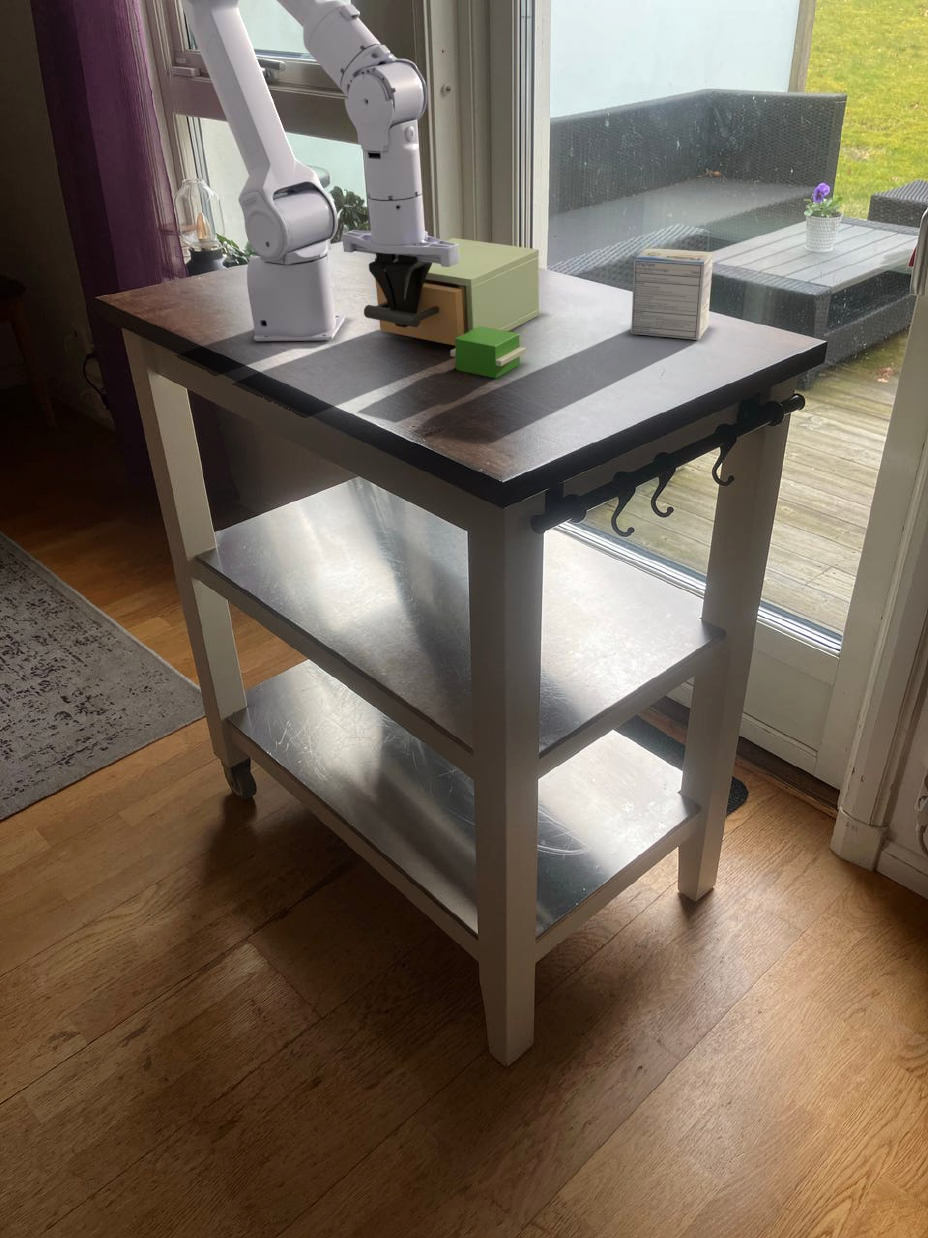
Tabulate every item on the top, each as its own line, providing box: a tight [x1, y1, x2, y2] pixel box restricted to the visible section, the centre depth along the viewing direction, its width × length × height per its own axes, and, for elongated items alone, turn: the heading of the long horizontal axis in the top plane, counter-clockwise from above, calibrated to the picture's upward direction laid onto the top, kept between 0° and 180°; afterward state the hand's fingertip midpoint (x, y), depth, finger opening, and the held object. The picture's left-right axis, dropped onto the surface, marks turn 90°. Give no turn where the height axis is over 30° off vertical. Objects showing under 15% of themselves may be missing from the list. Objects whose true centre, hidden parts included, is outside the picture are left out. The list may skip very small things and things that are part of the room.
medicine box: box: [630, 248, 714, 341], centre depth 113 cm, size 8×4×9 cm, turn 65°
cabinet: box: [426, 237, 540, 332], centre depth 119 cm, size 14×13×8 cm
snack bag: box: [449, 326, 526, 379], centre depth 108 cm, size 7×5×4 cm
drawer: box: [363, 278, 468, 347], centre depth 116 cm, size 17×11×6 cm, turn 144°
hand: (405, 324), depth 112 cm, fingers closed
